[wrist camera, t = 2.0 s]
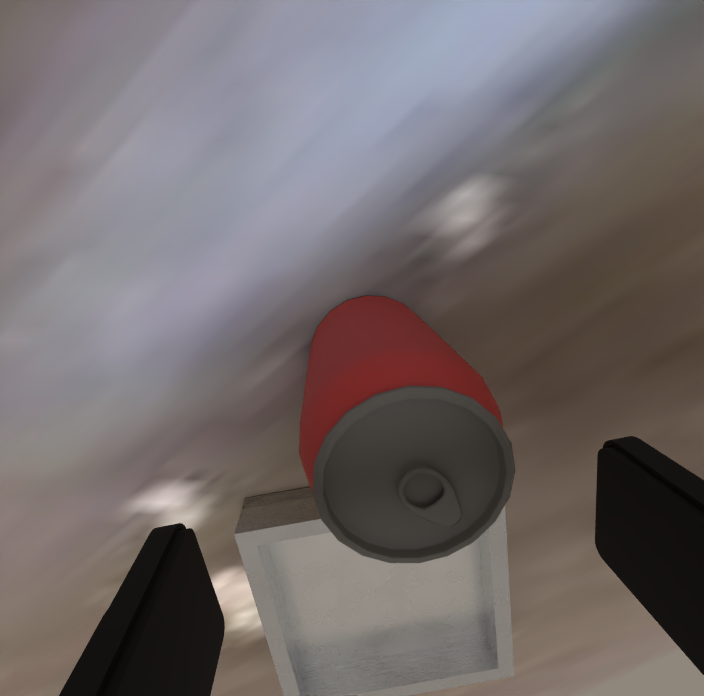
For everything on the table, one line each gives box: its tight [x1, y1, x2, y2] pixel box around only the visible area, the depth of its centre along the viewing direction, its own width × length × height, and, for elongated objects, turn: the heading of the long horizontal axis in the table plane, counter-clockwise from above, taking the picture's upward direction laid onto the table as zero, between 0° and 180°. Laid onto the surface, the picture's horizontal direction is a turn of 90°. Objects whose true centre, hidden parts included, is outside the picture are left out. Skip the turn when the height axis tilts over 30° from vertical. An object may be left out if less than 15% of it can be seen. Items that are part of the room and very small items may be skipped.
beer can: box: [299, 296, 515, 563], centre depth 16 cm, size 7×7×12 cm
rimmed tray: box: [234, 487, 514, 696], centre depth 25 cm, size 15×15×3 cm
